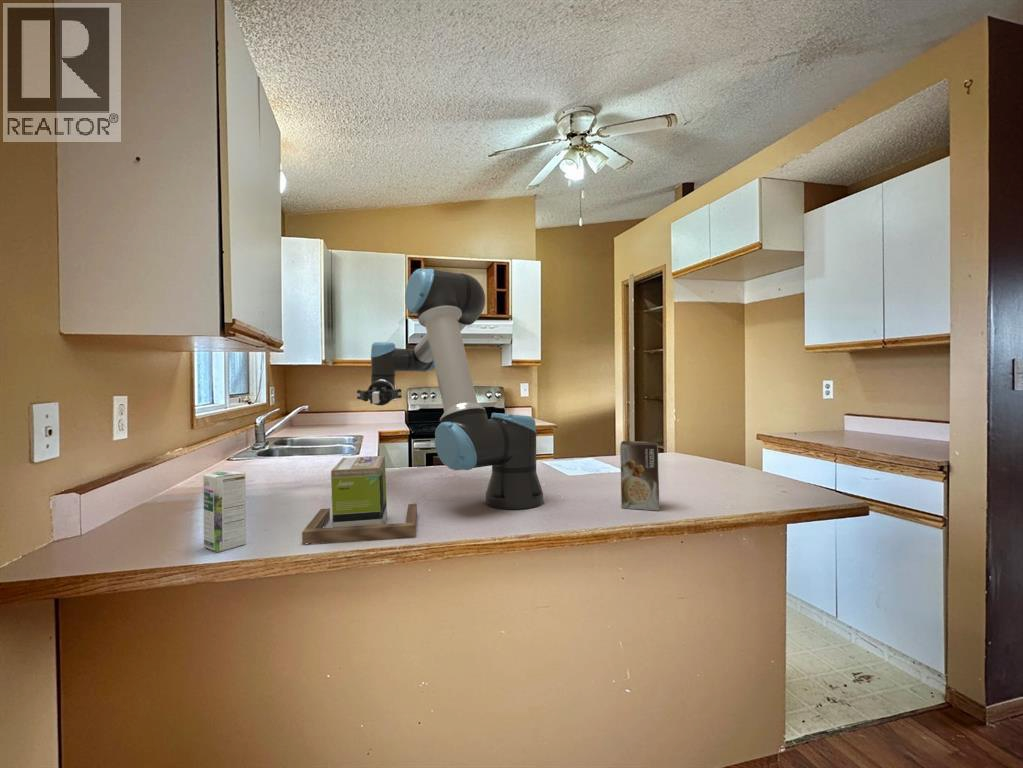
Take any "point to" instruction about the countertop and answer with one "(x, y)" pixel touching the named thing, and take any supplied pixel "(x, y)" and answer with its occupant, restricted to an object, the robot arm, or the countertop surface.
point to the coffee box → (639, 475)
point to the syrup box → (224, 510)
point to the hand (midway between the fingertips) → (375, 398)
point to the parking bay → (358, 529)
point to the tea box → (359, 491)
